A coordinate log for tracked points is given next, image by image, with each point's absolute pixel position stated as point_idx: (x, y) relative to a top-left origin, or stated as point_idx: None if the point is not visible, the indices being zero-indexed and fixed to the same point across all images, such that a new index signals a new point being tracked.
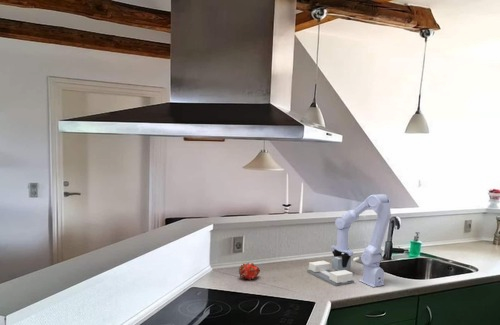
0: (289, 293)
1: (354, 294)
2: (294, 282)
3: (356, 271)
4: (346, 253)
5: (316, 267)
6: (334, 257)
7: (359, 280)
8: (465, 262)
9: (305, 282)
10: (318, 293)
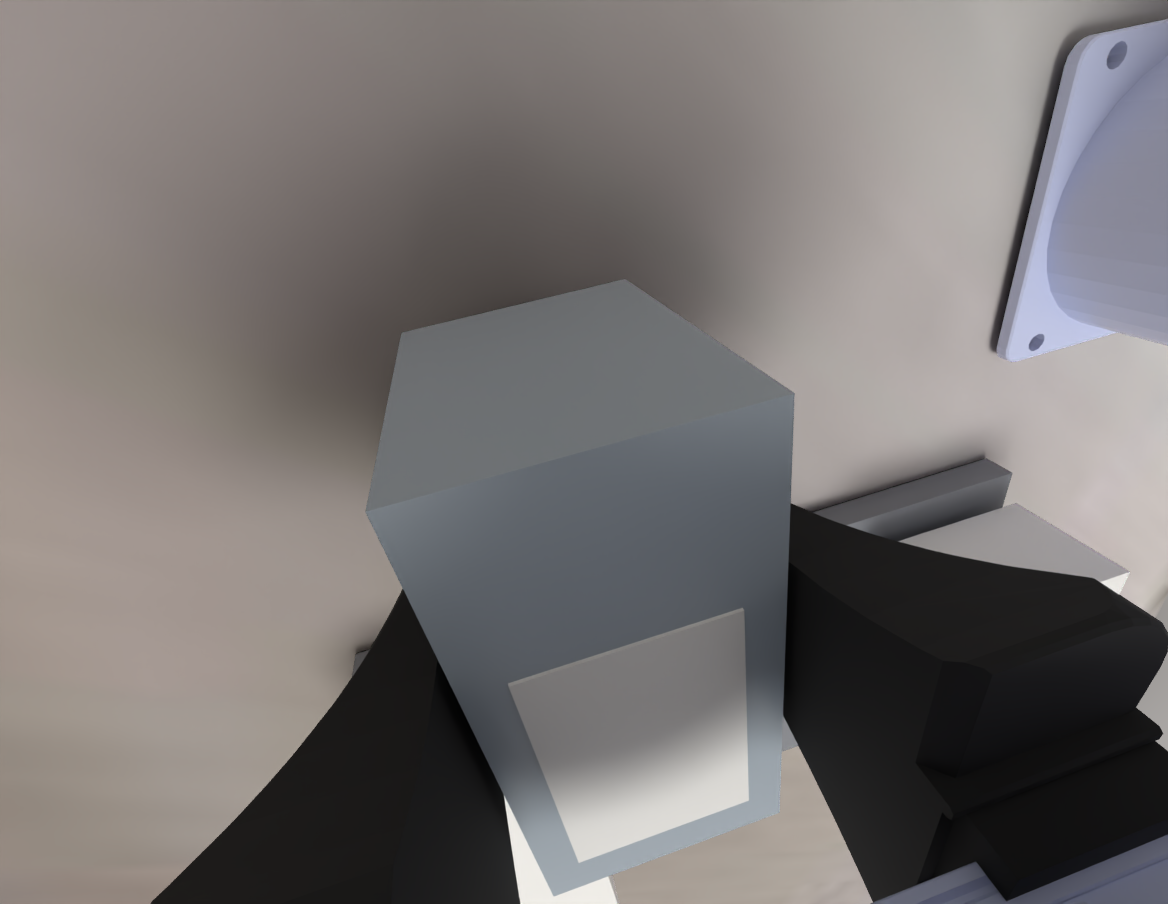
0: (857, 900)
1: (1142, 578)
2: (713, 896)
3: (564, 25)
4: (1100, 884)
5: (612, 879)
6: (597, 860)
7: (1016, 359)
8: None
9: (743, 845)
10: None
